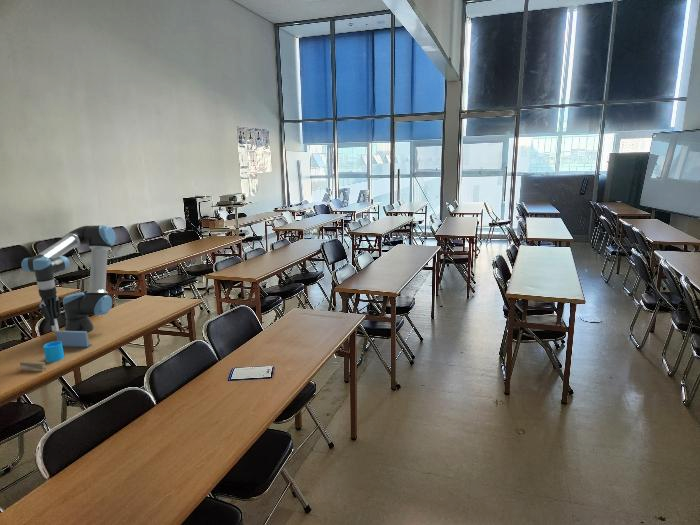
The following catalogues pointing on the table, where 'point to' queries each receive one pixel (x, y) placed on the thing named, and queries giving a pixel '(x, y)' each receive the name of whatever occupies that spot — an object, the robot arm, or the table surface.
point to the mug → (53, 351)
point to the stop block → (32, 366)
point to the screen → (73, 338)
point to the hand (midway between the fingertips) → (55, 330)
